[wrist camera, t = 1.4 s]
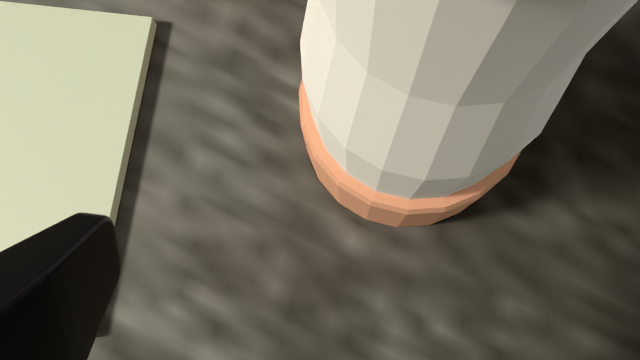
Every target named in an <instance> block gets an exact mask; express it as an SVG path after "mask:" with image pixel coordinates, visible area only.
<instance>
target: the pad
mask: <svg viewBox="0 0 640 360" xmlns="http://www.w3.org/2000/svg"><path fill="white" fill-rule="evenodd" d="M156 28H157V24H156V23H155V21H154V20H153V18H152V17H143V16H134V15H125V14H115V13H106V12H96V11H87V10H78V9H68V8H59V7H49V6H40V5H31V4H21V3H12V2H2V1H0V252H1V251H3V250H5V249H7V248H9V247H11V246H12V245H14V244H16V243H18V242H20V241H22V240H24V239H26V238H28V237H30V236H32V235H34V234H36V233H38V232H40V231H42V230H44V229H46V228H48V227H50V226H52V225H54V224H56V223H58V222H60V221H62V220H64V219H66V218H68V217H70V216H72V215H74V214H76V213H80V212H85V213H93V214H100V215H106V216H108V217H110V218H111V220H112V221H113V224H114V227H115V223H116V218H117V213H118V208H119V203H120V199H121V194H122V189H123V184H124V180H125V175H126V170H127V165H128V161H129V156H130V151H131V146H132V142H133V137H134V132H135V127H136V123H137V118H138V113H139V108H140V104H141V99H142V94H143V89H144V85H145V80H146V75H147V70H148V66H149V61H150V56H151V51H152V47H153V42H154V37H155V32H156Z"/></svg>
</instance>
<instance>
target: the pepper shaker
mask: <svg viewBox="0 0 640 360" xmlns="http://www.w3.org/2000/svg"><path fill="white" fill-rule="evenodd" d="M637 1H638V0H308V3H307V8H306V13H305V18H304V24H303V29H302V34H301V40H300V47H301V63H302V81H301V85H300V89H299V101H300V118H301V128H302V132H303V136H304V140H305V144H306V148H307V152H308V154H309V157H310V159H311V161H312V164H313V166H314V169H315V171H316V174H317V176H318V179H319V180H320V181H321V183H322V184H323V185H324V186H325V187H326V188H327V190H328V191H329V192H330V193H331V194H332V195H333V197H334V198H335V199H336V200H337V201H338V202H339V203H340V204H341V205H343V206H345V207H346V208H348V209H350V210H351V211H353V212H354V213H356V214H358V215H359V216H361V217H363V218H364V219H366V220H370V221H374V222H378V223H382V224H386V225H390V226H394V227H409V226H423V225H431V224H433V223H436V222H438V221H441V220H443V219H446V218H448V217H451V216H453V215H455V214H458V213H460V212H461V211H462V210H464V209H465V208H467V207H468V206H469V205H471V204H472V203H474V202H475V201H476V200H478V199H479V198H480V197H482V196H483V195H484V194H485V193H486V192H487V191H489V190H490V189H491V188H492V187H493V186H494V185H496V184H497V183H498V182H499V181H500V180H501V179H503V178H504V177H505V176H506V175H507V174H508V173H509V171H510V169H511V168H512V166H513V164H514V163H515V161H516V159H517V157H518V156H519V154H520V152H521V151H522V149H523V148H524V147H525V146H527V145H528V144H529V143H530V142H531V141H532V140H534V139H535V138H536V137H537V136H538V135H539V134H540V133H541V131H542V130H543V128H544V126H545V125H546V123H547V121H548V119H549V118H550V116H551V114H552V113H553V111H554V109H555V107H556V106H557V104H558V102H559V101H560V99H561V97H562V95H563V93H564V92H565V90H566V88H567V86H568V85H569V83H570V81H571V79H572V77H573V76H574V74H575V72H576V70H577V69H578V67H579V65H580V63H581V61H582V60H583V58H584V56H585V54H586V53H587V52H588V51H589V50H590V49H591V48H592V47H593V46H594V45H595V44H596V43H597V42H598V41H599V40H600V39H601V38H602V37H603V36H604V34H605V33H606V32H607V31H608V30H609V29H610V28H611V27H612V26H613V25H614V24H615V23H616V22H617V21H618V20H619V19H620V18H621V17H622V16H623V15H624V14H625V13H626V12H627V11H628V10H629V9H630V8H631V7H632V6H633V5H634V4H635V3H636V2H637Z"/></svg>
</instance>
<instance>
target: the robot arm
mask: <svg viewBox="0 0 640 360" xmlns="http://www.w3.org/2000/svg"><path fill="white" fill-rule="evenodd" d="M119 275H120V258H119V252H118V246H117V240H116V234H115V228H114V224H113V221H112V220H111V218H110V217H108V216H106V215H100V214H93V213H85V212H80V213H76V214H74V215H72V216H70V217H68V218H66V219H64V220H62V221H60V222H58V223H56V224H54V225H52V226H50V227H48V228H46V229H44V230H42V231H40V232H38V233H36V234H34V235H32V236H30V237H28V238H26V239H24V240H22V241H20V242H18V243H16V244H14V245H12V246H11V247H9V248H7V249H5V250H3V251H1V252H0V360H87V359H88V356H89V354H90V351H91V348H92V346H93V343H94V341H95V338H96V336H97V333H98V331H99V328H100V325H101V323H102V320H103V318H104V315H105V313H106V310H107V307H108V305H109V302H110V300H111V297H112V295H113V292H114V290H115V287H116V284H117V282H118V279H119Z"/></svg>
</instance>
